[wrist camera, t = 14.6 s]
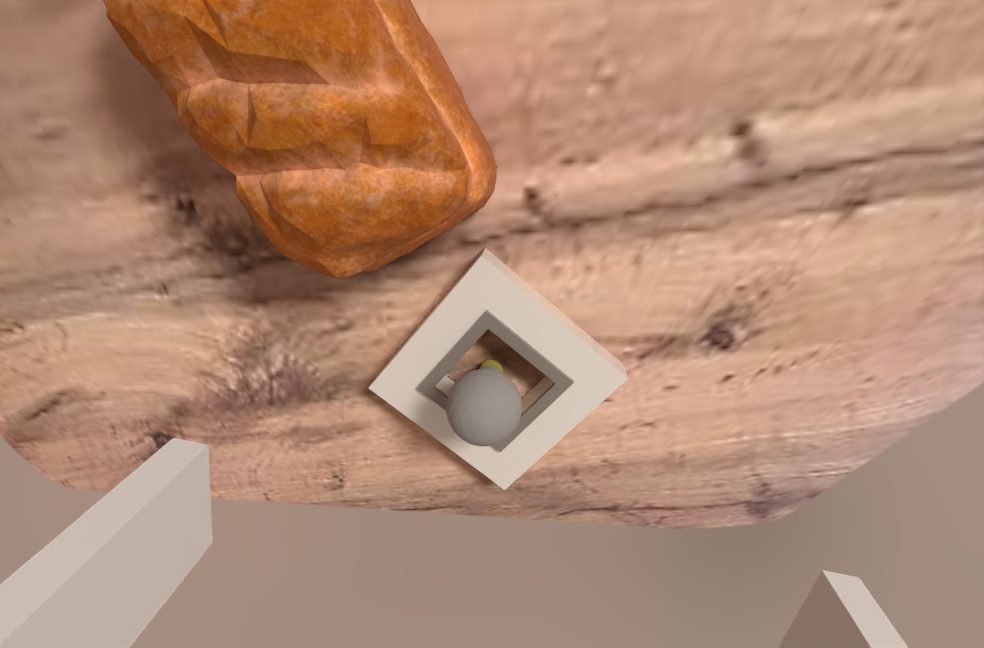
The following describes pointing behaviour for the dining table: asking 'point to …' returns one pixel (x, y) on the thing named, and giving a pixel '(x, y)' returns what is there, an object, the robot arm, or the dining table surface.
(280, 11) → the bread
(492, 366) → the light bulb
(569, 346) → the socket block
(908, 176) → the dining table surface
